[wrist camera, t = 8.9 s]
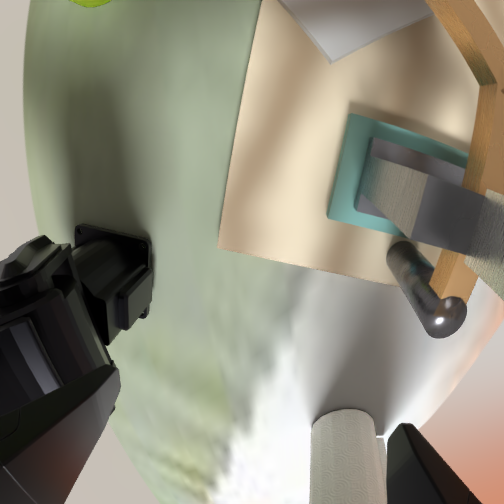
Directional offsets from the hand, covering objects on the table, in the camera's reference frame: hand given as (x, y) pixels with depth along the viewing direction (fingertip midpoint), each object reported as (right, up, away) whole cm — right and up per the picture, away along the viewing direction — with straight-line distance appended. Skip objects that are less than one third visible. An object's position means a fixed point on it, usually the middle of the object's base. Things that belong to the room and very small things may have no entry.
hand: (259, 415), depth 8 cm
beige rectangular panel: (+8, +15, +7) cm, 18 cm away
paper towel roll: (+9, -12, +18) cm, 23 cm away
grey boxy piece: (+10, +8, +7) cm, 15 cm away
